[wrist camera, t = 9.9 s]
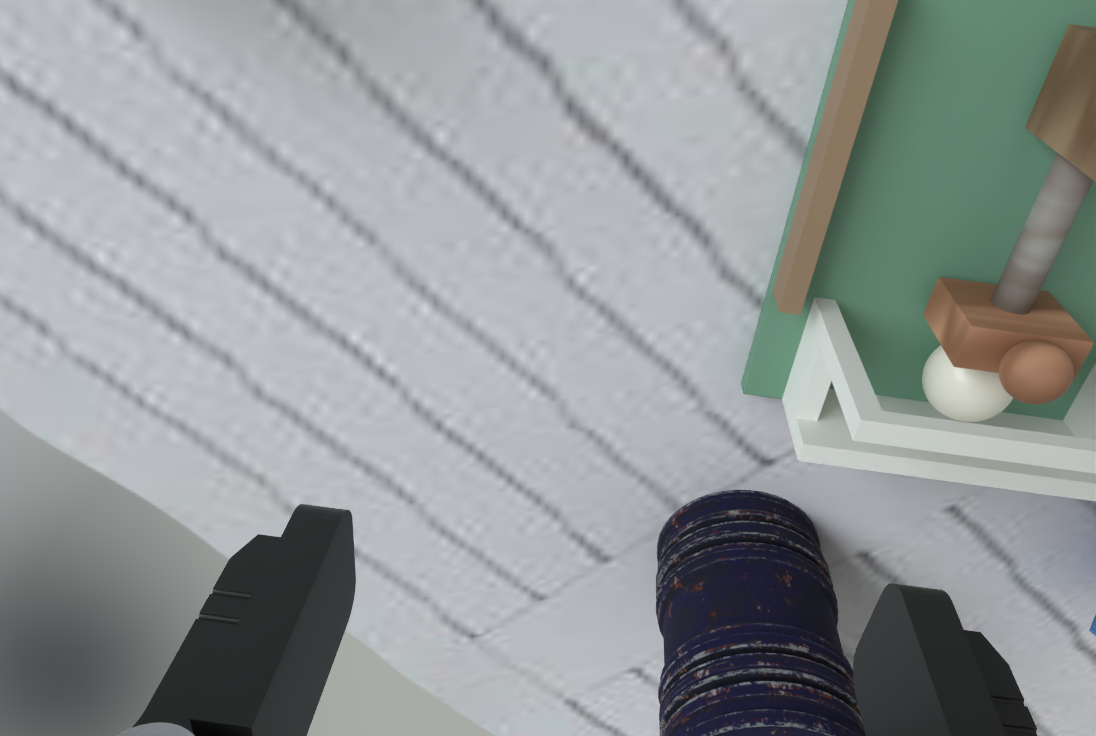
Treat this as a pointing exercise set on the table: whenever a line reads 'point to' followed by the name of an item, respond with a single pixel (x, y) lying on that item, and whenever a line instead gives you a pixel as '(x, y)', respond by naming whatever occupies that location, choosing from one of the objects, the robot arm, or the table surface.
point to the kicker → (1033, 251)
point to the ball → (962, 390)
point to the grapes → (1093, 626)
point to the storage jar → (749, 623)
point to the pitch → (923, 245)
